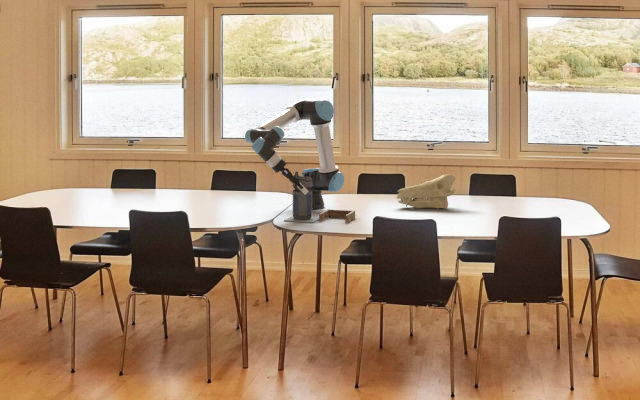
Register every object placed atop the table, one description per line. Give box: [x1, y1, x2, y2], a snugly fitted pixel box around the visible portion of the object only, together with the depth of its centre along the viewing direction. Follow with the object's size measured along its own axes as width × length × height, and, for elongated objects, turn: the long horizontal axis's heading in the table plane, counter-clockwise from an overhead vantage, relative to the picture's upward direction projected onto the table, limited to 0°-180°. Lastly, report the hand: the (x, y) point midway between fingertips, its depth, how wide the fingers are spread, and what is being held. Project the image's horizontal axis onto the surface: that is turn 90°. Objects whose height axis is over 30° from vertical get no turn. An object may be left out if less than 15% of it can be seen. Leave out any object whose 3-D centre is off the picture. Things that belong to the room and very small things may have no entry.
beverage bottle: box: [292, 171, 313, 220], centre depth 393 cm, size 10×13×25 cm
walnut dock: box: [318, 209, 356, 224], centre depth 395 cm, size 18×15×4 cm
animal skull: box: [395, 173, 456, 209], centre depth 444 cm, size 15×35×20 cm, turn 97°
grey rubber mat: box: [283, 215, 319, 224], centre depth 394 cm, size 18×16×1 cm
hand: (304, 191), depth 392 cm, fingers open, 13 cm apart
